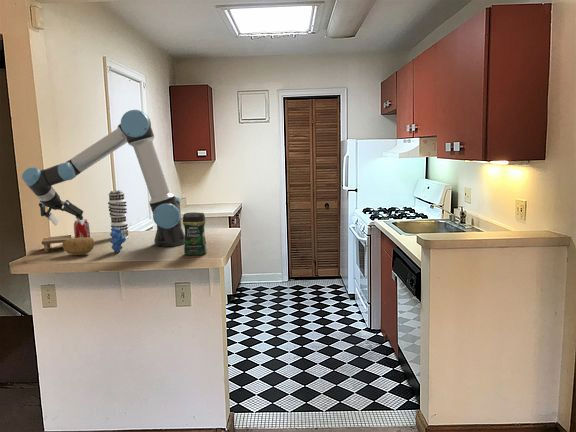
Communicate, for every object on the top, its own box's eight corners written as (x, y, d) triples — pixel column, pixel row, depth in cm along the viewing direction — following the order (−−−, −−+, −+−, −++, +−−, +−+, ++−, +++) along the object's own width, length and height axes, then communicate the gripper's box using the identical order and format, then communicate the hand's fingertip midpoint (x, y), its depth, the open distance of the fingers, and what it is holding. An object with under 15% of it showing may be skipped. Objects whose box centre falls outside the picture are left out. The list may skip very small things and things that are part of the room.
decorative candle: (122, 240, 243) (118, 191, 239) (107, 239, 245) (103, 191, 241) (133, 236, 251) (129, 190, 247) (117, 235, 254) (113, 190, 250)
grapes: (123, 255, 209) (121, 228, 207) (108, 255, 209) (105, 229, 207) (130, 249, 220) (128, 224, 219) (115, 249, 220) (113, 224, 218)
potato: (69, 252, 217) (68, 235, 216) (99, 252, 216) (97, 235, 215) (58, 258, 207) (56, 240, 206) (89, 257, 207) (87, 239, 205)
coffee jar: (182, 256, 204) (179, 214, 201) (188, 251, 212) (185, 211, 209) (204, 256, 203) (201, 213, 200) (209, 251, 211) (206, 211, 208)
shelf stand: (71, 250, 222) (70, 239, 221) (42, 253, 218) (41, 242, 217) (72, 245, 233) (71, 234, 232) (45, 247, 229) (44, 237, 228)
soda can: (85, 245, 232) (82, 221, 230) (72, 245, 233) (69, 221, 231) (93, 242, 239) (91, 219, 237) (81, 242, 240) (78, 219, 238)
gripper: (18, 202, 208) (42, 229, 226) (71, 201, 206) (91, 229, 223) (24, 189, 213) (48, 216, 230) (76, 188, 210) (96, 216, 227)
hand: (69, 223), depth 226 cm, fingers open, 13 cm apart
